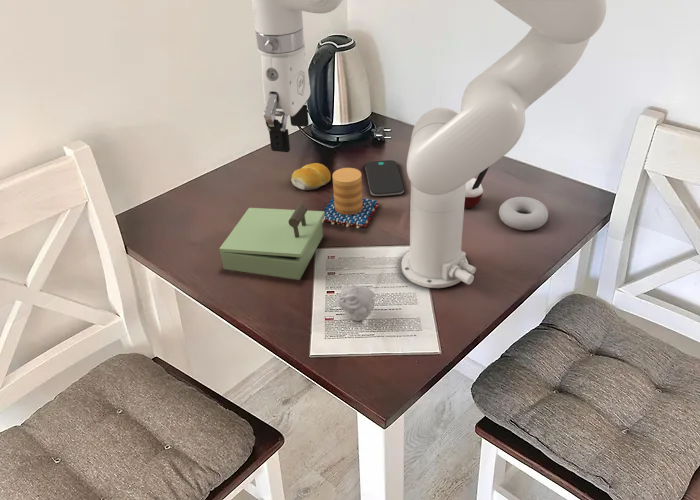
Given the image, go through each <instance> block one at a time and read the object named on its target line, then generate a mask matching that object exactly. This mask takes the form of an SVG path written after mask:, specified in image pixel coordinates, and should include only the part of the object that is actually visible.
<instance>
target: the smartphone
mask: <svg viewBox="0 0 700 500" xmlns="http://www.w3.org/2000/svg"><path fill="white" fill-rule="evenodd" d="M364 167H365V172H366V177H367V182H368V187H369V192H370V194H371V195H372V196H374V197H388V196H390V197H391V196H399V195H402V194H403V193H405V187H404V183H403V180H402V176H401V173H400V169H399V166H398V163H397V162H396V161H395V160H393V159H391V160H390V159H387V160H386V159H385V160H373V161H368V162H367V163H365V166H364Z"/></svg>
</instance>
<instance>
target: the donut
mask: <svg viewBox="0 0 700 500" xmlns="http://www.w3.org/2000/svg"><path fill="white" fill-rule="evenodd" d="M498 215H499V219H500V220H501V222H502V223H504V224H505V225H506V226H508V227H509V228H511V229H515V230H518V231H533V230H537V229H539V228H541V227H542V226H544V225H545V224H546V223H547V221H548V219H549V211H548V208H547V206H546V205H545V204H544V203H543V202H542V201H540V200H538V199H536V198H533V197H529V196H515V197H511V198H508V199H506V200H504V202H502V204H500V206H499V210H498Z"/></svg>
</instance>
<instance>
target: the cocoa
mask: <svg viewBox="0 0 700 500" xmlns="http://www.w3.org/2000/svg"><path fill="white" fill-rule="evenodd" d="M490 167H491V166H489V167H488V168H486V169H485V170H484V171H482V172H481V173H479V174H478V175H477V176H476V177H477V178H476V177H474V178H472V179H471V180H469V181H468V182H467V183H466V192H465V202H464V209H472V208H475V207H476V206H477V205H479V203H480V202H481V199H482V197H483V193H484V189H483V186H482V181H483V180H484V179H485V176H486V174H487V172H488V171H489V168H490Z"/></svg>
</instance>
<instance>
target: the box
mask: <svg viewBox="0 0 700 500" xmlns="http://www.w3.org/2000/svg"><path fill="white" fill-rule="evenodd" d="M323 237H324V231H323V223H322V221H321V222H320V224H319V226H318V228H317V230H316V232H315V233H314V235H313V237H312V239H311V241H310V242H309V244H308V246H307V248H306V250H305V251H304V253H303V255H302V257H289V256H275V255H261V254H247V253H232V252H220V251H219V253H220V257H221V258H220V259H221V262H222V268H223V270H229V271H235V272H243V273H249V274H257V275H263V276H269V277H277V278H284V279H290V280H297V281H300V280H301V279H302V277H303V275H304V273H305V271H306V269H307V267H308V266H309V263H310V261H311V260H312V258H313V256H314V254H315V252H316V250H317V248H318V247H319V244H320V243H321V241H322V239H323Z"/></svg>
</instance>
